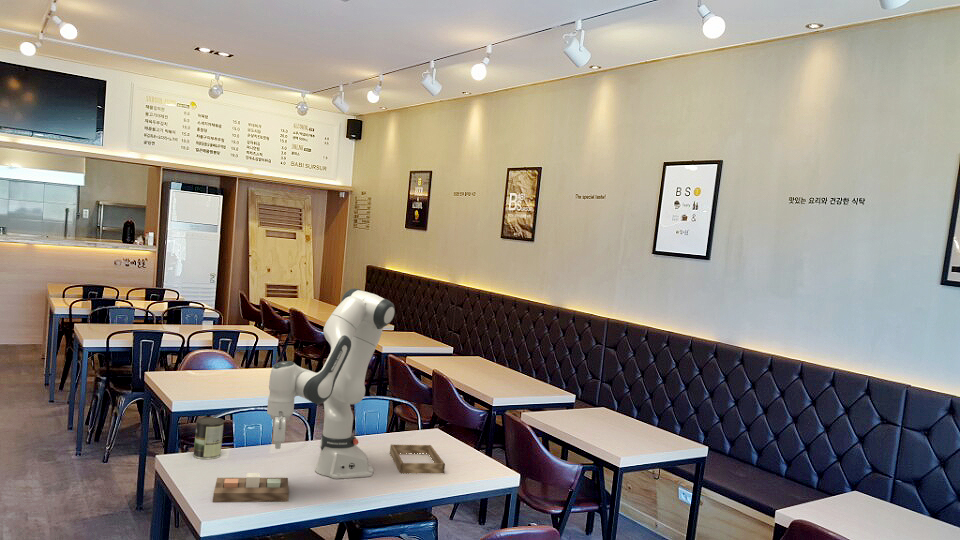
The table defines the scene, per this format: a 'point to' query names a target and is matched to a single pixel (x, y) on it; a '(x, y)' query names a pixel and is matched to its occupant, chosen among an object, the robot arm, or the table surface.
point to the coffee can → (208, 438)
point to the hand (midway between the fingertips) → (277, 447)
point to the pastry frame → (417, 467)
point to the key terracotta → (231, 483)
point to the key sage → (273, 483)
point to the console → (251, 491)
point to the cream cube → (252, 480)
